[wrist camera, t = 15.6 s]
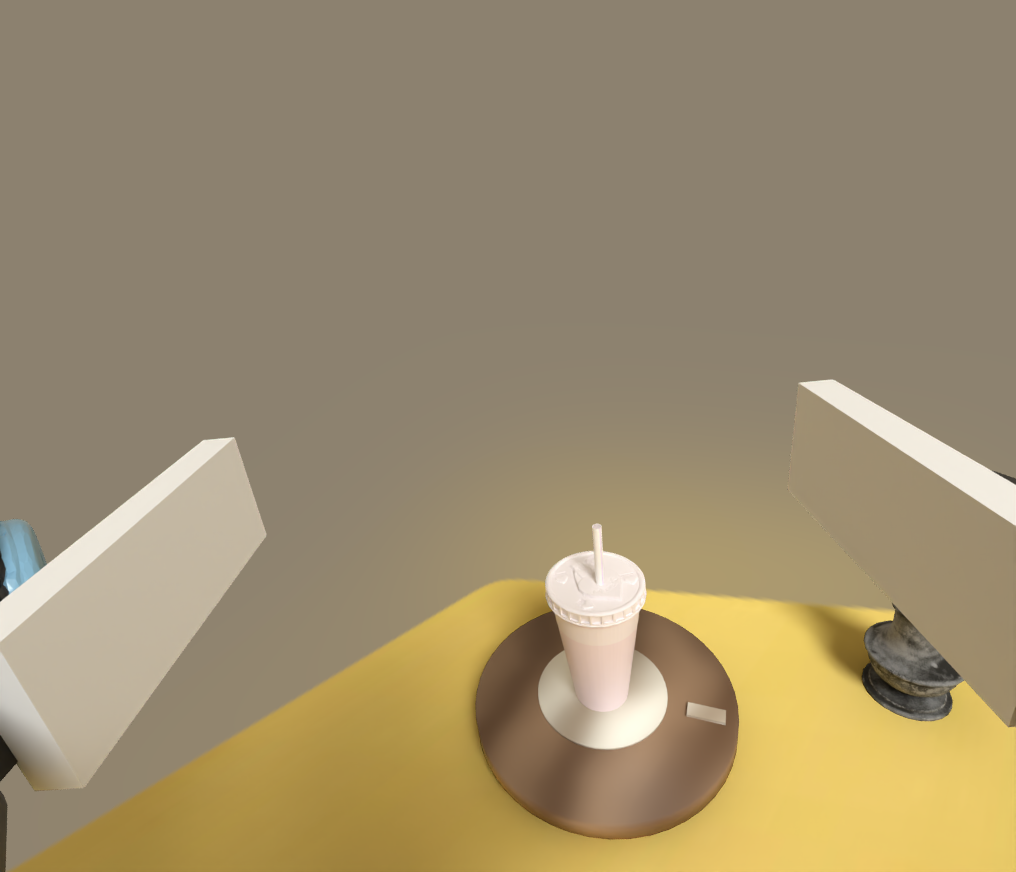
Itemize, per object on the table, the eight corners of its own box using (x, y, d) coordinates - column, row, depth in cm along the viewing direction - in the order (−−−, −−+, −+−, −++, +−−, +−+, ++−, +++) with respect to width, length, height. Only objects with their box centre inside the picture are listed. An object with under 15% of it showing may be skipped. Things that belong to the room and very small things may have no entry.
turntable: (433, 787, 36) (429, 771, 35) (526, 601, 51) (524, 587, 50) (735, 886, 29) (736, 867, 28) (739, 637, 44) (740, 622, 43)
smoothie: (596, 748, 35) (583, 570, 30) (538, 683, 40) (517, 520, 35) (668, 695, 38) (668, 524, 32) (605, 640, 43) (596, 484, 38)
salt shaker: (857, 647, 43) (880, 516, 38) (951, 671, 41) (990, 533, 36) (857, 706, 39) (884, 567, 34) (963, 738, 36) (1010, 590, 31)
